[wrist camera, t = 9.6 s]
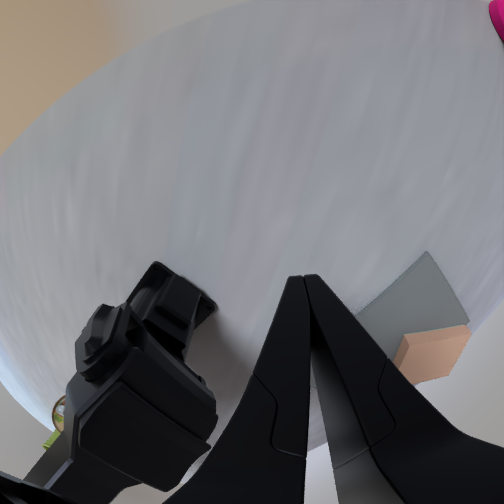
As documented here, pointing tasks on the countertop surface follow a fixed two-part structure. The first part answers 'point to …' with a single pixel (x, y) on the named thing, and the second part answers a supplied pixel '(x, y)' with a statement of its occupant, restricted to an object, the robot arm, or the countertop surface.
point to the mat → (411, 307)
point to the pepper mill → (497, 16)
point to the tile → (430, 353)
